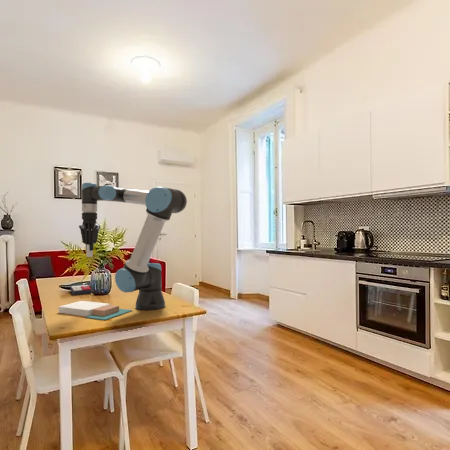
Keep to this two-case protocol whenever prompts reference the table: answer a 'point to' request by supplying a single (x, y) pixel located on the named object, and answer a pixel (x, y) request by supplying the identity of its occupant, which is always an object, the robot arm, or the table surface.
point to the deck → (81, 308)
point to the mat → (120, 312)
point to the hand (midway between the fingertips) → (89, 256)
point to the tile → (105, 310)
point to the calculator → (80, 290)
